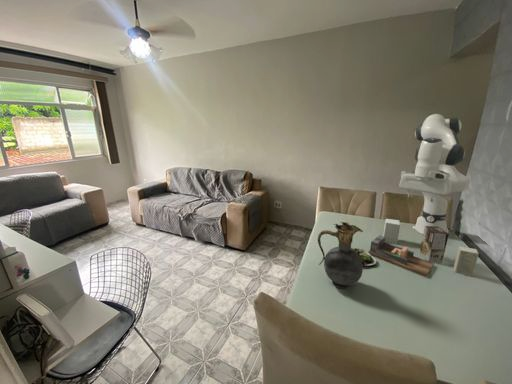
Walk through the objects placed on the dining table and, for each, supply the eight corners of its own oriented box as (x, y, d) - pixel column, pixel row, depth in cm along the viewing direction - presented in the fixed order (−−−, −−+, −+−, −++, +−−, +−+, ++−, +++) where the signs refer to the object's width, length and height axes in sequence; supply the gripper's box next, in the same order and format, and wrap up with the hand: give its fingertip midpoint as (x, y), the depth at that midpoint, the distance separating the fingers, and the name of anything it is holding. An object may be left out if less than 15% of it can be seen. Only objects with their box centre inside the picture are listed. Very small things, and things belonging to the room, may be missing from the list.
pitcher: (360, 296, 88) (369, 230, 80) (313, 284, 96) (316, 222, 88) (360, 280, 98) (368, 219, 90) (317, 270, 106) (320, 213, 97)
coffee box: (442, 263, 109) (449, 234, 104) (428, 261, 110) (434, 233, 105) (432, 253, 117) (438, 226, 113) (419, 252, 118) (424, 225, 114)
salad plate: (331, 248, 125) (331, 241, 124) (361, 247, 125) (362, 240, 124) (345, 269, 106) (346, 261, 105) (380, 267, 107) (382, 259, 105)
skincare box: (470, 272, 101) (477, 249, 98) (472, 277, 98) (479, 253, 94) (452, 267, 105) (458, 245, 101) (454, 272, 101) (460, 249, 98)
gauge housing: (377, 245, 126) (379, 234, 124) (433, 266, 106) (436, 252, 104) (367, 254, 118) (369, 241, 116) (425, 277, 98) (429, 263, 96)
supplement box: (397, 244, 127) (400, 224, 123) (382, 241, 130) (385, 222, 127) (396, 239, 133) (399, 220, 129) (382, 236, 136) (385, 218, 133)
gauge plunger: (394, 252, 116) (396, 243, 114) (406, 256, 112) (408, 247, 110) (389, 257, 111) (390, 248, 110) (401, 262, 107) (403, 253, 106)
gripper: (399, 170, 110) (395, 196, 114) (451, 176, 95) (445, 205, 99) (403, 169, 114) (399, 194, 118) (454, 174, 99) (448, 202, 103)
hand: (420, 199), depth 108 cm, fingers open, 8 cm apart
